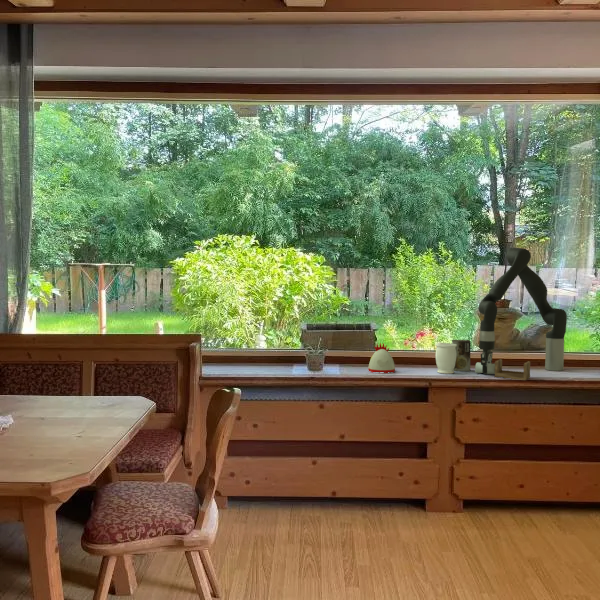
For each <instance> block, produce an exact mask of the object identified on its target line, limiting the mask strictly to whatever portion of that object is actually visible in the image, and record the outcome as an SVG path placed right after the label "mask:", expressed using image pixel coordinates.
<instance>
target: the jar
mask: <svg viewBox="0 0 600 600" xmlns="http://www.w3.org/2000/svg"><path fill="white" fill-rule="evenodd" d="M435 346H436V349H435V363H436V367H437V371H436V372H437V373H439V374H443V375H444V374H445V375H448V374H449V375H451V374H454V373H455V371H453V369H454V367H455V362H456V348H455V347H456V346H457V345H456V344H452V343H449V342H441V343H440V342H438V343H435Z"/></svg>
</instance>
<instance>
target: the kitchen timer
mask: <svg viewBox="0 0 600 600" xmlns="http://www.w3.org/2000/svg"><path fill="white" fill-rule="evenodd" d="M373 347H374V350H375V351H374V353H373V354H372V355H371V357H370V361H369V362H368V363H369V364H368V367H367V368H368V370H369V371H371V372H370V373H373V372H384V373H383V374H389V373H388V372H393V373H395V372H396V365H395V362H394V359H393V356H392V355H391V353H390V352H389V351H390V347H388V348H387V344H386V345H385V343H381V342H380V343H379V345H378V343H376V346H375V345H374V346H373ZM369 371H368V372H369ZM394 371H395V372H394Z"/></svg>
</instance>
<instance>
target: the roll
mask: <svg viewBox="0 0 600 600" xmlns="http://www.w3.org/2000/svg"><path fill="white" fill-rule="evenodd" d="M482 367H483V366H482V365H481V362H476V363H475V367H474V371H475V373H476V374H480V373H482ZM491 374H495V363H488V364H487V373H484V374H483V375H491Z"/></svg>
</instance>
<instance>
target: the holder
mask: <svg viewBox="0 0 600 600" xmlns="http://www.w3.org/2000/svg"><path fill="white" fill-rule="evenodd" d="M494 364H495V375H494V378H495V377H504V378H503V379H506V378H511V379H510V380H517V381H518V380H519V381H520V380H521V381H527V380H528V379H530V378H529V377H531V361H529V360H528V361H526V362H524V363H523V371H517V370H504V369H503V359H501V358H500V359H497V360H495V361H494Z"/></svg>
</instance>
